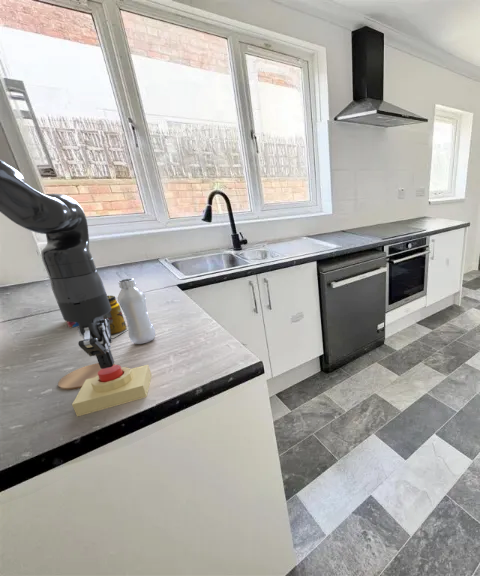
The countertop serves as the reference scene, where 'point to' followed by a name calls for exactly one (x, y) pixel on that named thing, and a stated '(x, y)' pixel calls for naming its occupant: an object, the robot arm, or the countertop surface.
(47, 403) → the countertop surface
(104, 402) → the button base
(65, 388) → the coaster
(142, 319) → the plastic bottle
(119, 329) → the condiment
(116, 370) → the red button cap
